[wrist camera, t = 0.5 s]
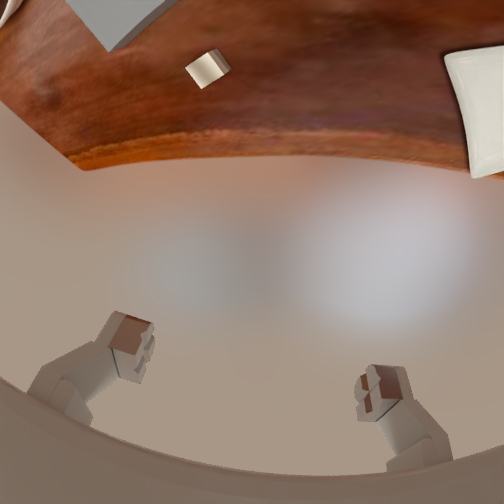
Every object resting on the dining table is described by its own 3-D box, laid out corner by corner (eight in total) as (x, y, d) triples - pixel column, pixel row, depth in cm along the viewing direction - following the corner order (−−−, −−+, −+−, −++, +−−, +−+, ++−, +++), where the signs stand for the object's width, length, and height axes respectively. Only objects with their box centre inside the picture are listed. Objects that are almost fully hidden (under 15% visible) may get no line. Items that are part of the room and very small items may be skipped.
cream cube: (216, 48, 42) (207, 52, 39) (231, 68, 45) (224, 74, 42) (195, 62, 45) (185, 67, 42) (210, 81, 48) (201, 88, 44)
